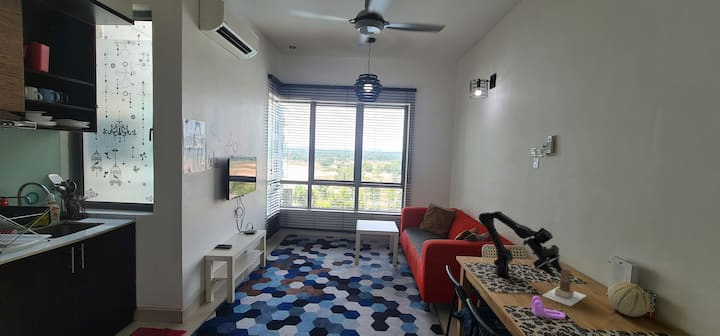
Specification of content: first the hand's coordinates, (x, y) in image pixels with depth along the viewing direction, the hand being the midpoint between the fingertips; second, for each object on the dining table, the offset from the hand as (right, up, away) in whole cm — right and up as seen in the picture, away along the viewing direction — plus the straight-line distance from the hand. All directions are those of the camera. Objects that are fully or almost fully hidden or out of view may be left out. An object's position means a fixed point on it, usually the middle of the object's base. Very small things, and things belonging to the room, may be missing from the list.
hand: (558, 274), depth 162 cm
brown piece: (+2, -10, -2) cm, 11 cm away
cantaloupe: (+21, -13, -17) cm, 30 cm away
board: (+2, -11, -2) cm, 11 cm away
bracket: (-17, -12, -19) cm, 28 cm away
